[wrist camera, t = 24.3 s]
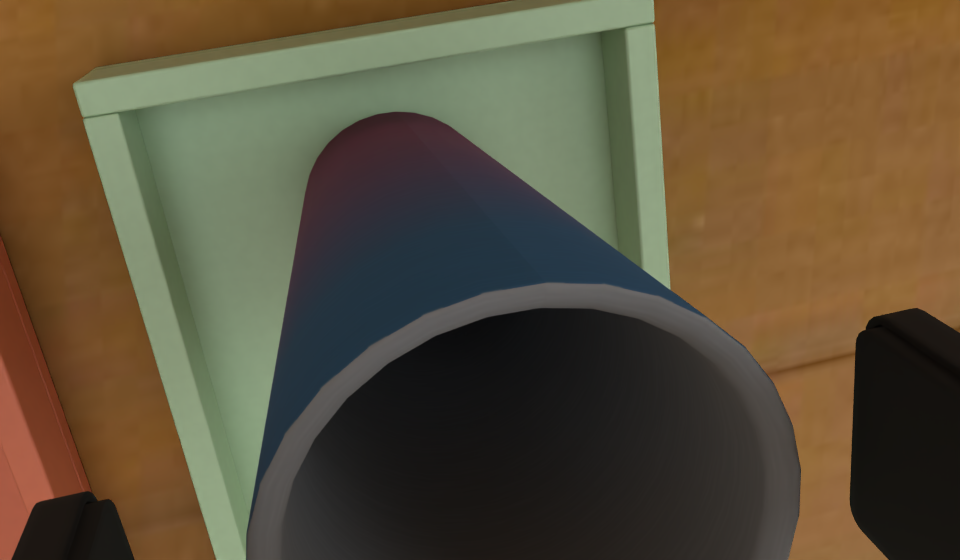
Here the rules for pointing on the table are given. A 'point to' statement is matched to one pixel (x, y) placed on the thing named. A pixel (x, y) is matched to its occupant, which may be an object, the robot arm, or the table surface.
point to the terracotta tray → (28, 421)
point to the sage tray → (293, 152)
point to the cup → (500, 381)
